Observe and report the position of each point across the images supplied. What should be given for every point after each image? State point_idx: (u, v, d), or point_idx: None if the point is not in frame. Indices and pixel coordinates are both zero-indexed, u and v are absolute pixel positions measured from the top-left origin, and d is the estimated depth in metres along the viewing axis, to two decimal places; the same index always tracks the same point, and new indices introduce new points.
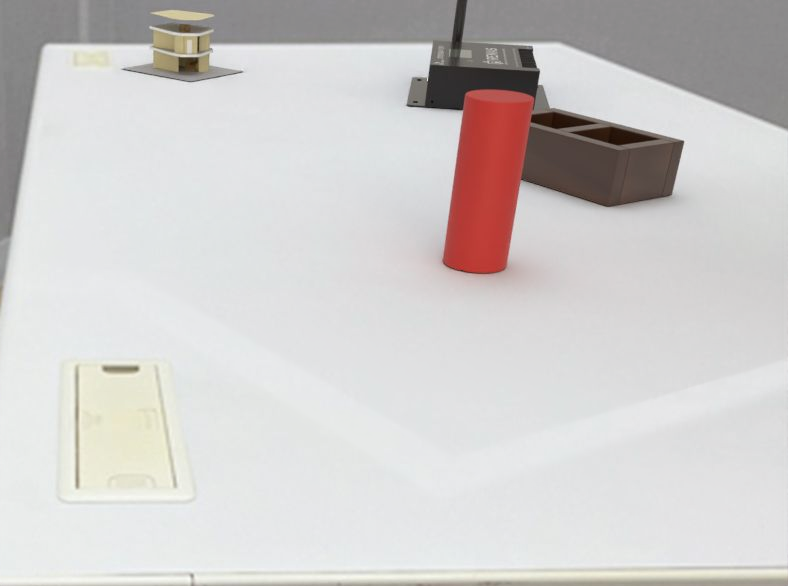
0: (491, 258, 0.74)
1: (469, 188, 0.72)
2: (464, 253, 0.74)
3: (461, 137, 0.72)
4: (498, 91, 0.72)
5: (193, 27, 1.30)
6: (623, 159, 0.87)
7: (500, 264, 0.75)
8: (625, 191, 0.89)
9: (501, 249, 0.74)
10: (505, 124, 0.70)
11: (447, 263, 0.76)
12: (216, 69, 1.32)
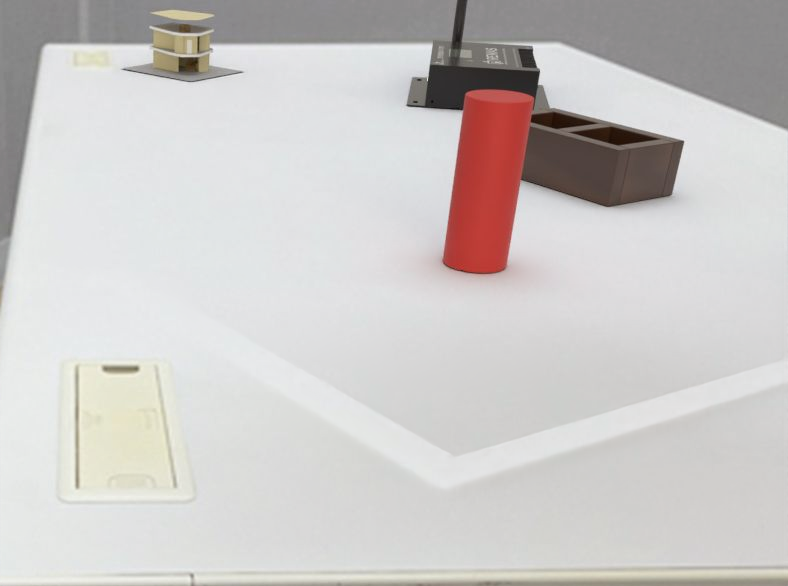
0: (491, 258, 0.74)
1: (469, 188, 0.72)
2: (464, 253, 0.74)
3: (461, 137, 0.72)
4: (498, 91, 0.72)
5: (193, 27, 1.30)
6: (623, 159, 0.87)
7: (500, 264, 0.75)
8: (625, 191, 0.89)
9: (501, 249, 0.74)
10: (505, 124, 0.70)
11: (447, 263, 0.76)
12: (216, 69, 1.32)
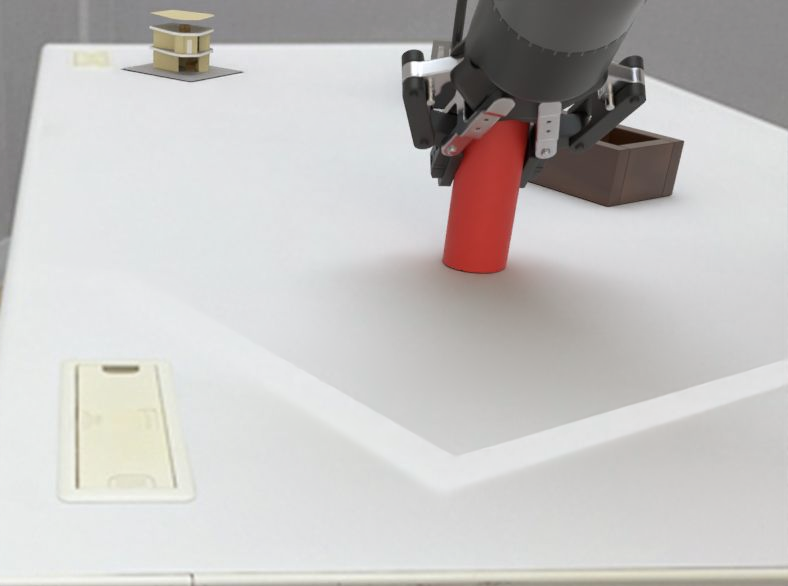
0: (491, 258, 0.74)
1: (469, 188, 0.72)
2: (464, 253, 0.74)
3: None
4: None
5: (193, 27, 1.30)
6: (623, 159, 0.87)
7: (500, 264, 0.75)
8: (625, 191, 0.89)
9: (500, 249, 0.74)
10: (505, 124, 0.70)
11: (447, 263, 0.76)
12: (216, 69, 1.32)
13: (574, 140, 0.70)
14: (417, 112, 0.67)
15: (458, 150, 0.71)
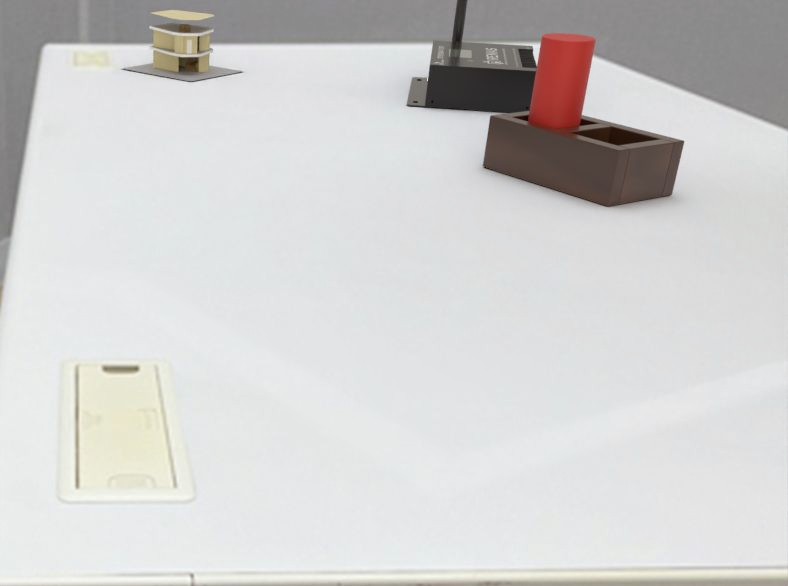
0: None
1: (544, 109, 0.93)
2: None
3: (538, 70, 0.93)
4: (567, 34, 0.93)
5: (193, 27, 1.30)
6: (623, 159, 0.87)
7: None
8: (625, 191, 0.89)
9: None
10: (574, 58, 0.91)
11: None
12: (216, 69, 1.32)
13: None
14: None
15: None
